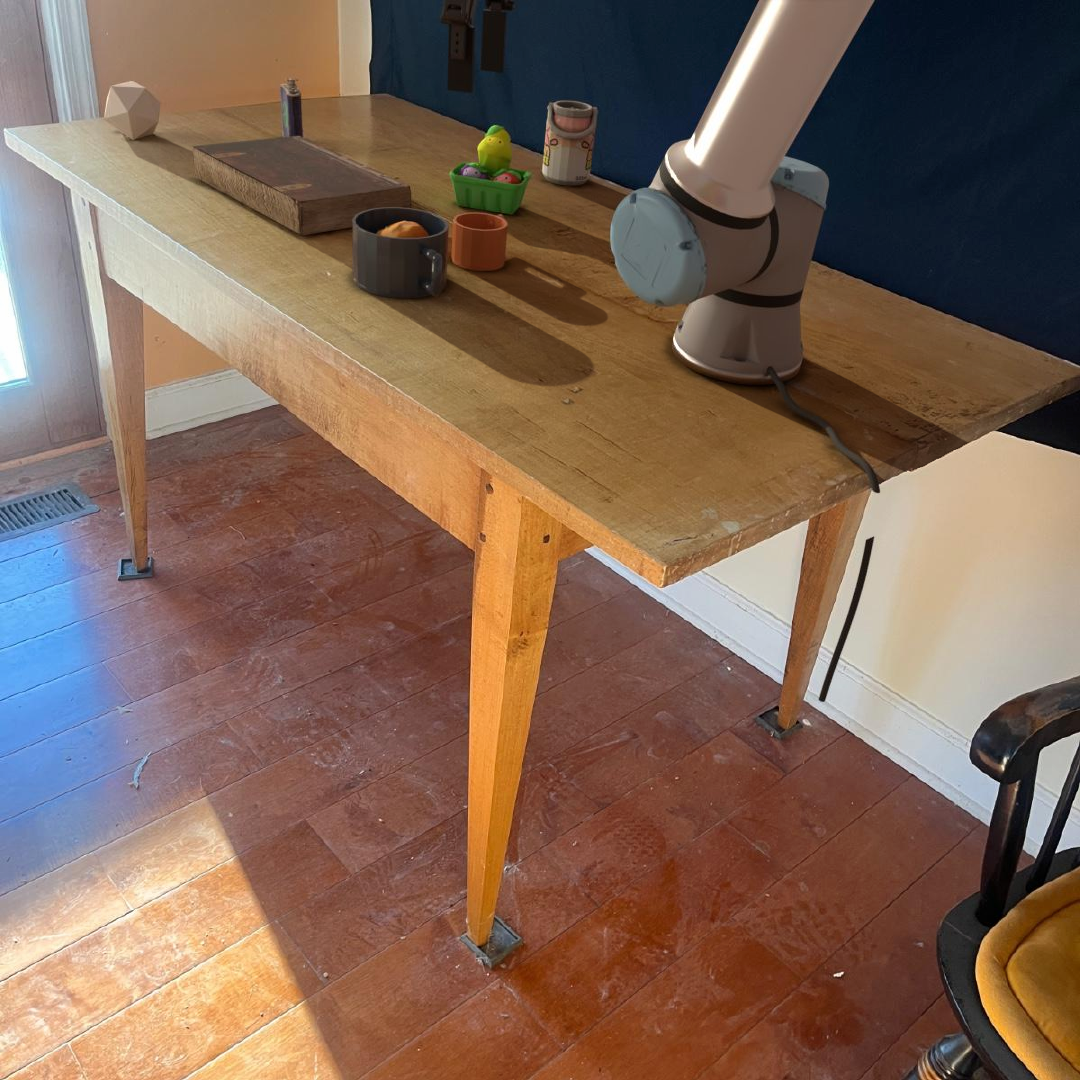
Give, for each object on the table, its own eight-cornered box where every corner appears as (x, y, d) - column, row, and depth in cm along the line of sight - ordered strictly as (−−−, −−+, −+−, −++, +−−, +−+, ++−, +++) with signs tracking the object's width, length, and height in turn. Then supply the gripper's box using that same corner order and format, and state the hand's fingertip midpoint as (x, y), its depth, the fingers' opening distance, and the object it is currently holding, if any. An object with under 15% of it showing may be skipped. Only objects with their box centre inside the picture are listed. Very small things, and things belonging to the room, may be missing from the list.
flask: (280, 137, 181) (278, 71, 175) (297, 137, 182) (295, 72, 176) (289, 152, 174) (287, 84, 168) (307, 152, 175) (305, 85, 169)
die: (172, 144, 173) (171, 86, 174) (131, 124, 165) (130, 63, 166) (135, 154, 177) (133, 97, 177) (92, 135, 169) (91, 75, 169)
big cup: (336, 270, 133) (335, 212, 129) (417, 258, 139) (418, 203, 135) (394, 315, 123) (395, 254, 119) (478, 300, 129) (482, 241, 125)
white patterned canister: (590, 191, 172) (599, 115, 165) (540, 185, 172) (547, 110, 165) (589, 175, 180) (597, 102, 173) (541, 170, 179) (548, 97, 172)
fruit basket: (446, 206, 158) (449, 130, 152) (463, 191, 165) (466, 117, 159) (517, 219, 157) (524, 142, 150) (531, 203, 164) (538, 129, 157)
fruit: (436, 283, 127) (405, 223, 124) (383, 305, 130) (351, 247, 127) (453, 261, 134) (424, 204, 130) (402, 283, 137) (372, 227, 133)
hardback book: (410, 217, 153) (411, 182, 150) (301, 238, 141) (300, 201, 138) (301, 164, 169) (300, 132, 166) (196, 179, 157) (192, 146, 155)
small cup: (489, 275, 137) (492, 234, 133) (442, 262, 139) (443, 222, 136) (522, 253, 144) (525, 214, 141) (476, 242, 147) (479, 203, 143)
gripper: (482, -142, 118) (474, 60, 129) (412, -144, 97) (410, 95, 109) (546, -136, 117) (532, 67, 128) (489, -137, 96) (479, 104, 108)
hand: (476, 80), depth 119 cm, fingers open, 13 cm apart
